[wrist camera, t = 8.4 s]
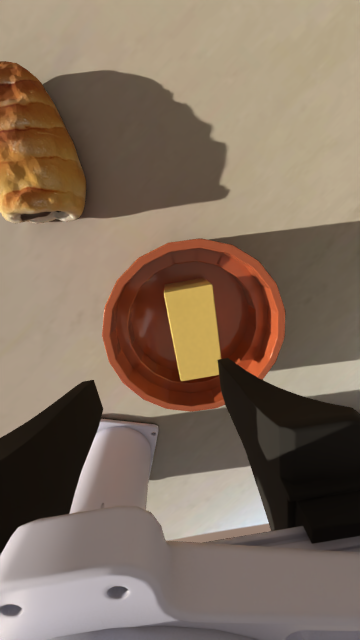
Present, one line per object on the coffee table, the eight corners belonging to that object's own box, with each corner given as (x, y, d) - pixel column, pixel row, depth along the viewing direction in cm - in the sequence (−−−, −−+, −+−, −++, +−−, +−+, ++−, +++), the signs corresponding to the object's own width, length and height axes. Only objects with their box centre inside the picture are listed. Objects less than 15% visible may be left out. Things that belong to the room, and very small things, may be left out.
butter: (213, 352, 22) (223, 374, 18) (178, 358, 22) (180, 381, 18) (204, 277, 19) (212, 284, 15) (164, 284, 19) (163, 292, 15)
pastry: (-32, 85, 15) (-97, 31, 11) (65, 73, 15) (32, 15, 11) (17, 230, 18) (-21, 224, 14) (98, 219, 18) (81, 210, 14)
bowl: (239, 389, 24) (255, 419, 19) (110, 372, 22) (96, 400, 18) (280, 258, 20) (312, 261, 15) (125, 227, 18) (111, 220, 14)
